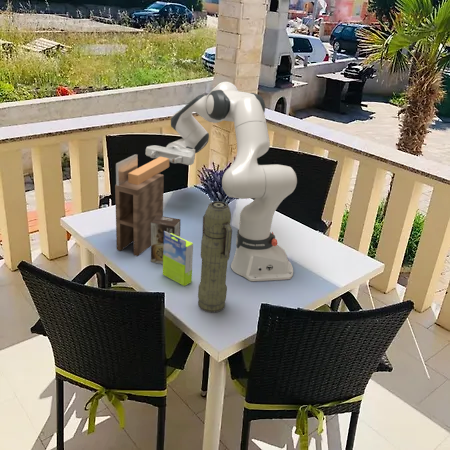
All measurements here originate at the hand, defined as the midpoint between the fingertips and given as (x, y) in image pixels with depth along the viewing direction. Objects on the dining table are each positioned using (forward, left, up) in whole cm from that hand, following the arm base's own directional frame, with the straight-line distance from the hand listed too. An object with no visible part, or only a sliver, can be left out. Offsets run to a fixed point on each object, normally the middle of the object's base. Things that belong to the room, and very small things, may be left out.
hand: (162, 158), depth 206 cm
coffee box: (-4, +34, -27) cm, 44 cm away
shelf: (+6, +22, -27) cm, 35 cm away
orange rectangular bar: (+3, +16, -1) cm, 16 cm away
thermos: (-21, +60, -27) cm, 69 cm away
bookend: (+11, +23, -1) cm, 25 cm away
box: (-9, +46, -27) cm, 54 cm away
